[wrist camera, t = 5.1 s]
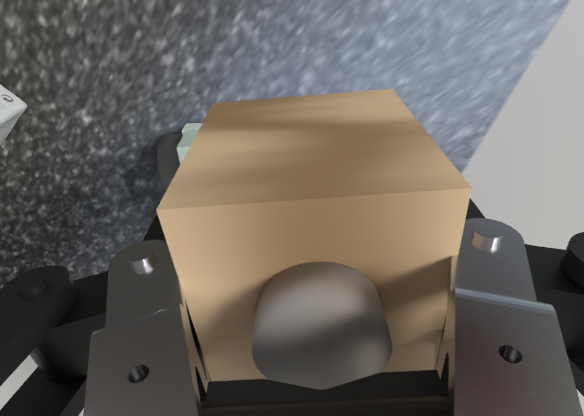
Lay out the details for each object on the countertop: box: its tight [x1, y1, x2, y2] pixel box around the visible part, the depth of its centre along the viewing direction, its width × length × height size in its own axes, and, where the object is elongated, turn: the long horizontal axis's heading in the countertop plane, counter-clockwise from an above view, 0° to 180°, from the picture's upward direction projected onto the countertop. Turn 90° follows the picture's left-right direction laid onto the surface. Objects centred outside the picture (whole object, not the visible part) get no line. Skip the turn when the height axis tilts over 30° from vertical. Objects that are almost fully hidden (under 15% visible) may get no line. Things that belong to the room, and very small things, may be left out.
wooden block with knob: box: [156, 89, 472, 390], centre depth 9 cm, size 5×5×6 cm
